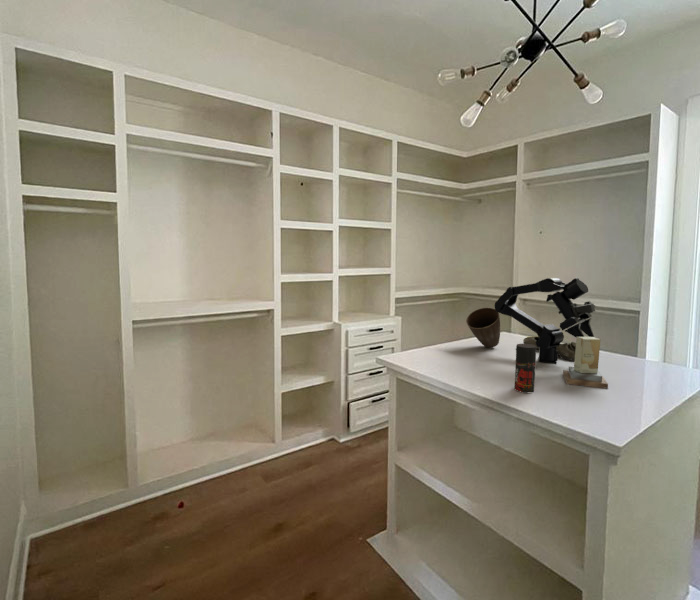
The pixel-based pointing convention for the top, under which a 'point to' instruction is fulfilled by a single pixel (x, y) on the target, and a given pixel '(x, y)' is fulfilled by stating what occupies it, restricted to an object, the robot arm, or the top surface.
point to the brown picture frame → (584, 378)
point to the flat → (563, 349)
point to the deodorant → (525, 367)
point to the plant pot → (485, 326)
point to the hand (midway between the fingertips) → (589, 339)
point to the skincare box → (587, 354)
